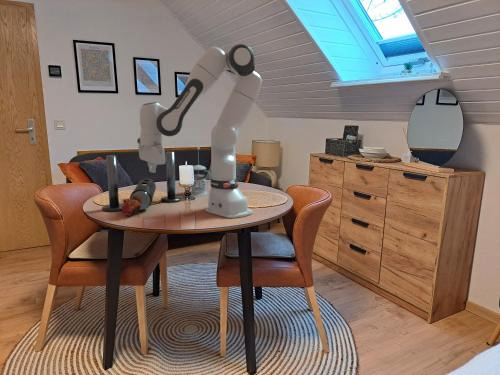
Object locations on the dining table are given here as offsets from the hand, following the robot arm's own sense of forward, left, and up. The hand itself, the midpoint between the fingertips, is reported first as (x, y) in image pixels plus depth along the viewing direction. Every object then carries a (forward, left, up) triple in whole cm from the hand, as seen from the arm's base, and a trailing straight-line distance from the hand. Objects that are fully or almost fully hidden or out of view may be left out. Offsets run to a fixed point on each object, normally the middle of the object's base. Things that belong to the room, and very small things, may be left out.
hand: (152, 172), depth 158 cm
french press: (+17, -34, -17) cm, 42 cm away
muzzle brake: (+11, 0, -18) cm, 21 cm away
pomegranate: (-3, +11, -17) cm, 21 cm away
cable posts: (+11, 0, -17) cm, 20 cm away
